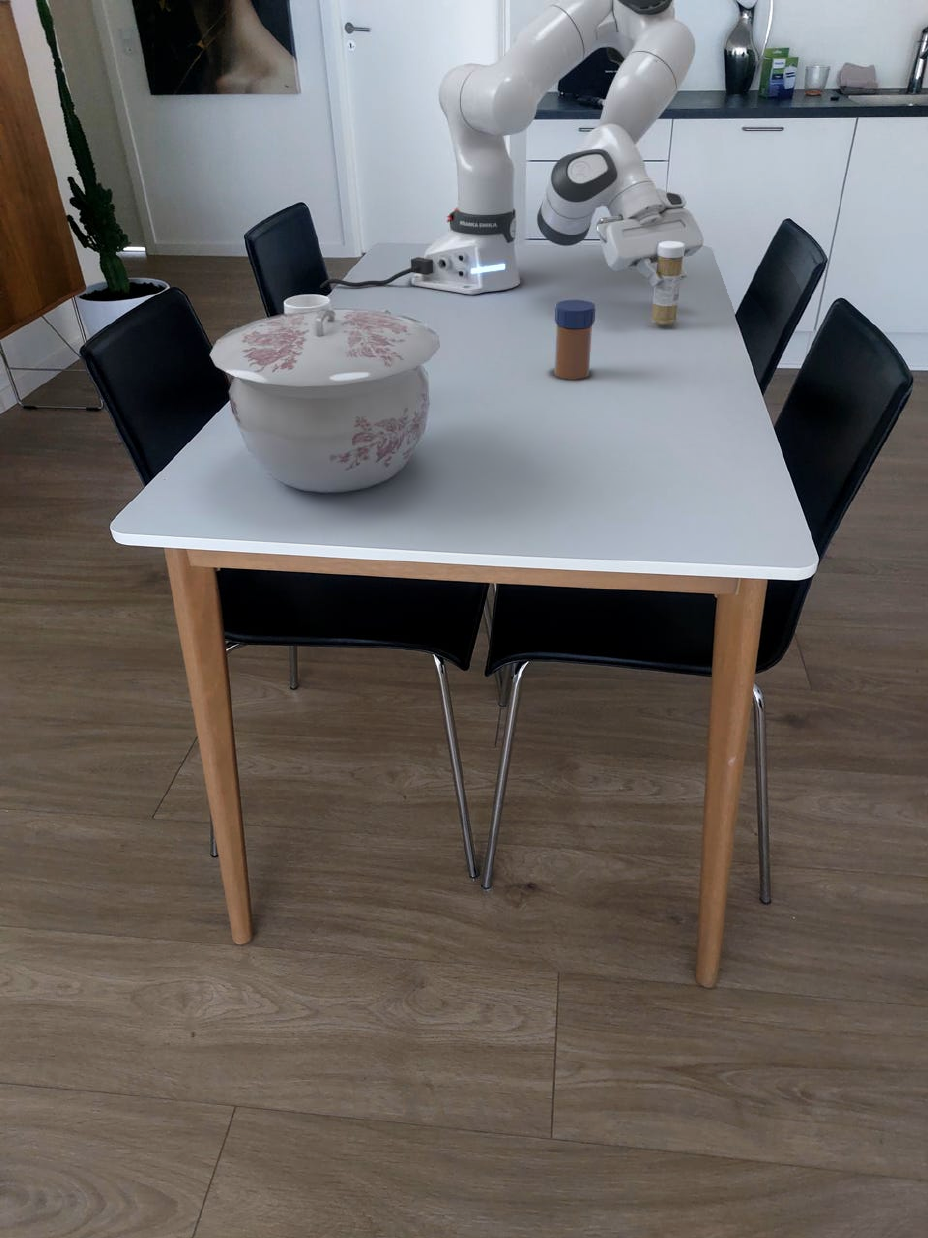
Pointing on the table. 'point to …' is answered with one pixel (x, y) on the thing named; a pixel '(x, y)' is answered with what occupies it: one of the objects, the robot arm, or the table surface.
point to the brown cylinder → (572, 352)
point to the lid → (575, 314)
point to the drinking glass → (306, 303)
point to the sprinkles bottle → (668, 282)
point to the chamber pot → (329, 394)
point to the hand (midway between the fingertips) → (670, 281)
